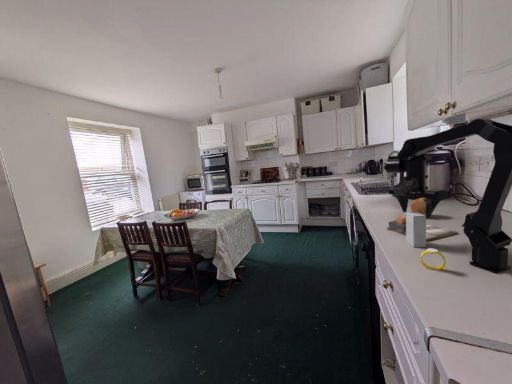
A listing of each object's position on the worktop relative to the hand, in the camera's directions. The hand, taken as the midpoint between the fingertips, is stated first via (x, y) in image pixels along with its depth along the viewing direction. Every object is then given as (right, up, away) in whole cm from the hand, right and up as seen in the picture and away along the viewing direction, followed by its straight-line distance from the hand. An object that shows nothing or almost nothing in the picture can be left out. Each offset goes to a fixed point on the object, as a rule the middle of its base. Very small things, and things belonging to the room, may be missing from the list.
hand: (415, 214), depth 83 cm
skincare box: (+1, -12, +2) cm, 12 cm away
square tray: (+12, -9, +14) cm, 20 cm away
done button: (+5, -6, +16) cm, 18 cm away
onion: (+27, -5, +33) cm, 43 cm away
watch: (-6, -15, -16) cm, 23 cm away
